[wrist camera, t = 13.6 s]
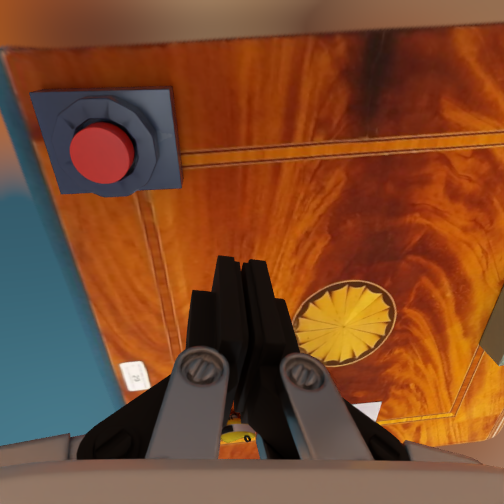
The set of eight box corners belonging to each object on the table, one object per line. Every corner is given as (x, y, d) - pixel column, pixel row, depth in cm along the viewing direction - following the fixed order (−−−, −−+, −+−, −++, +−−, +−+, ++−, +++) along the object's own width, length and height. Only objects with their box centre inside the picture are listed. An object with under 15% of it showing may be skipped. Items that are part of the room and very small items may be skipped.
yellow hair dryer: (238, 405, 43) (244, 436, 41) (251, 414, 48) (257, 442, 46) (165, 428, 44) (167, 459, 42) (186, 434, 49) (188, 462, 47)
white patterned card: (366, 413, 48) (373, 429, 46) (363, 425, 50) (369, 441, 48) (337, 415, 48) (343, 432, 46) (335, 428, 49) (340, 444, 47)
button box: (70, 184, 28) (51, 203, 24) (42, 89, 24) (15, 95, 21) (183, 179, 28) (180, 197, 25) (172, 85, 25) (166, 92, 21)
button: (86, 176, 24) (78, 185, 22) (71, 122, 22) (61, 128, 21) (139, 174, 24) (134, 182, 23) (128, 120, 22) (123, 126, 21)
